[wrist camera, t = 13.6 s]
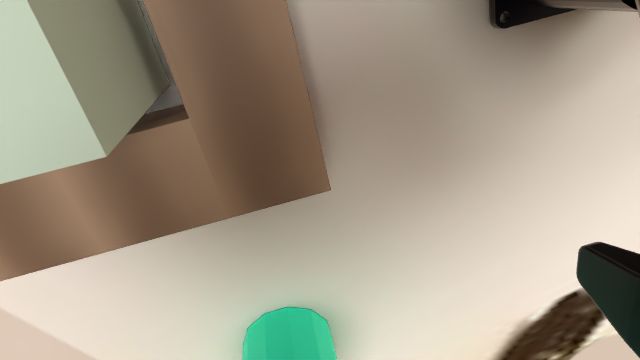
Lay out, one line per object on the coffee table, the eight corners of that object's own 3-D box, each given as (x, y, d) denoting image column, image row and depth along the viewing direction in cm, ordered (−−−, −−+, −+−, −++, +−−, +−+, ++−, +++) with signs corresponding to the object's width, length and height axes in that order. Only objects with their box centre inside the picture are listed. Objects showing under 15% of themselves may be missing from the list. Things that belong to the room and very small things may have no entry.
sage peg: (133, -9, 16) (22, -9, 8) (169, 84, 18) (106, 156, 10) (38, 14, 16) (-166, 36, 8) (85, 105, 18) (-47, 196, 10)
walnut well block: (224, -229, 14) (218, -282, 11) (320, 165, 21) (331, 190, 19) (-234, -126, 13) (-355, -156, 11) (27, 245, 21) (-6, 282, 18)
